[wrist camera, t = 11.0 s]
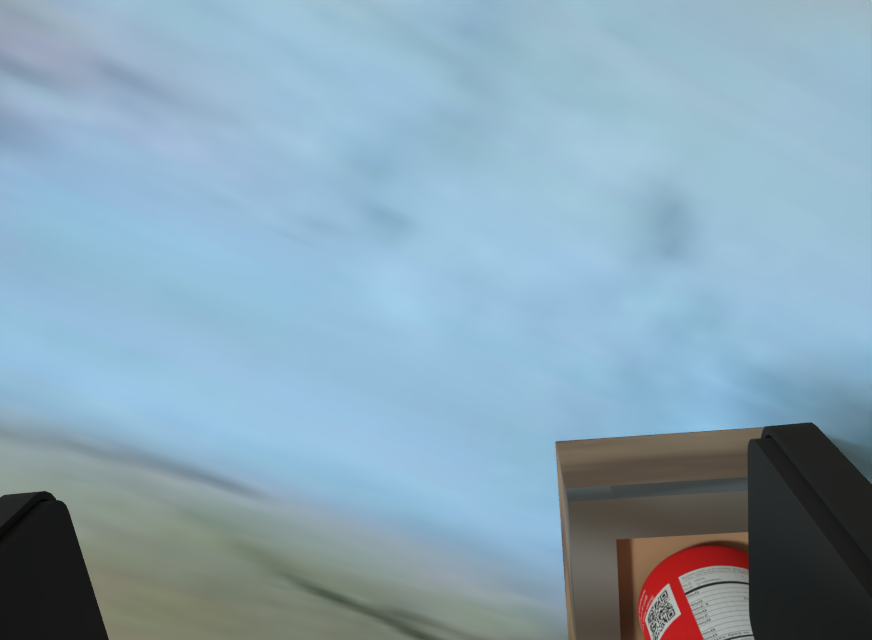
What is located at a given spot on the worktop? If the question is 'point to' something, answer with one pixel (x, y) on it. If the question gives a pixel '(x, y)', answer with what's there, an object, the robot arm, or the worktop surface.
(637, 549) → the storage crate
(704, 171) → the worktop surface
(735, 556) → the beverage can
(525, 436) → the worktop surface
